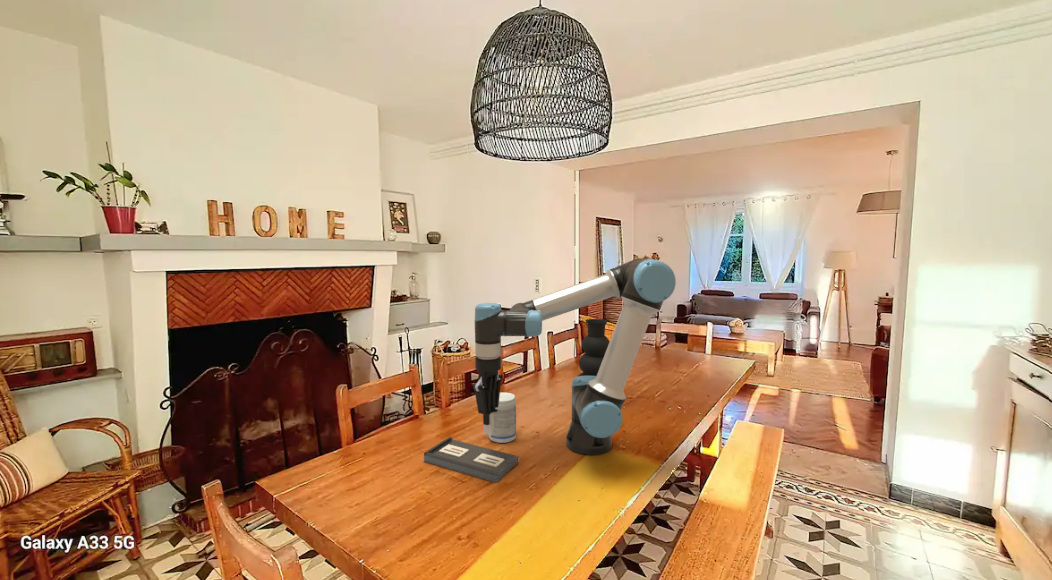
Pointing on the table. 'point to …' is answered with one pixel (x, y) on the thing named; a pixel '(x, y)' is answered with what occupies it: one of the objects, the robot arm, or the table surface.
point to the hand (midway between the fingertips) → (488, 433)
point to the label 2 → (489, 460)
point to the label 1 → (454, 450)
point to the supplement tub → (505, 419)
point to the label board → (470, 460)
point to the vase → (593, 347)
